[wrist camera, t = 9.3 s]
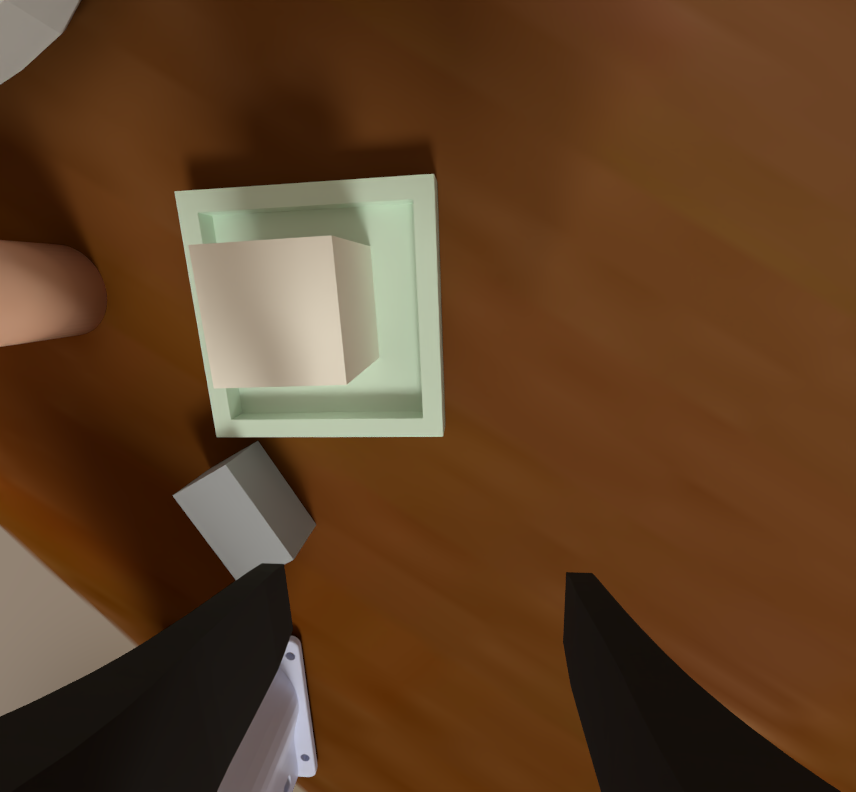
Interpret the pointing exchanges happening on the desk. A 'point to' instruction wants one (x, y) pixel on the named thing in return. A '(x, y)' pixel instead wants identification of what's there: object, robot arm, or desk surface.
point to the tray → (393, 289)
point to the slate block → (247, 511)
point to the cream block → (286, 311)
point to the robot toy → (30, 30)
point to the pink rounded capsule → (47, 292)
